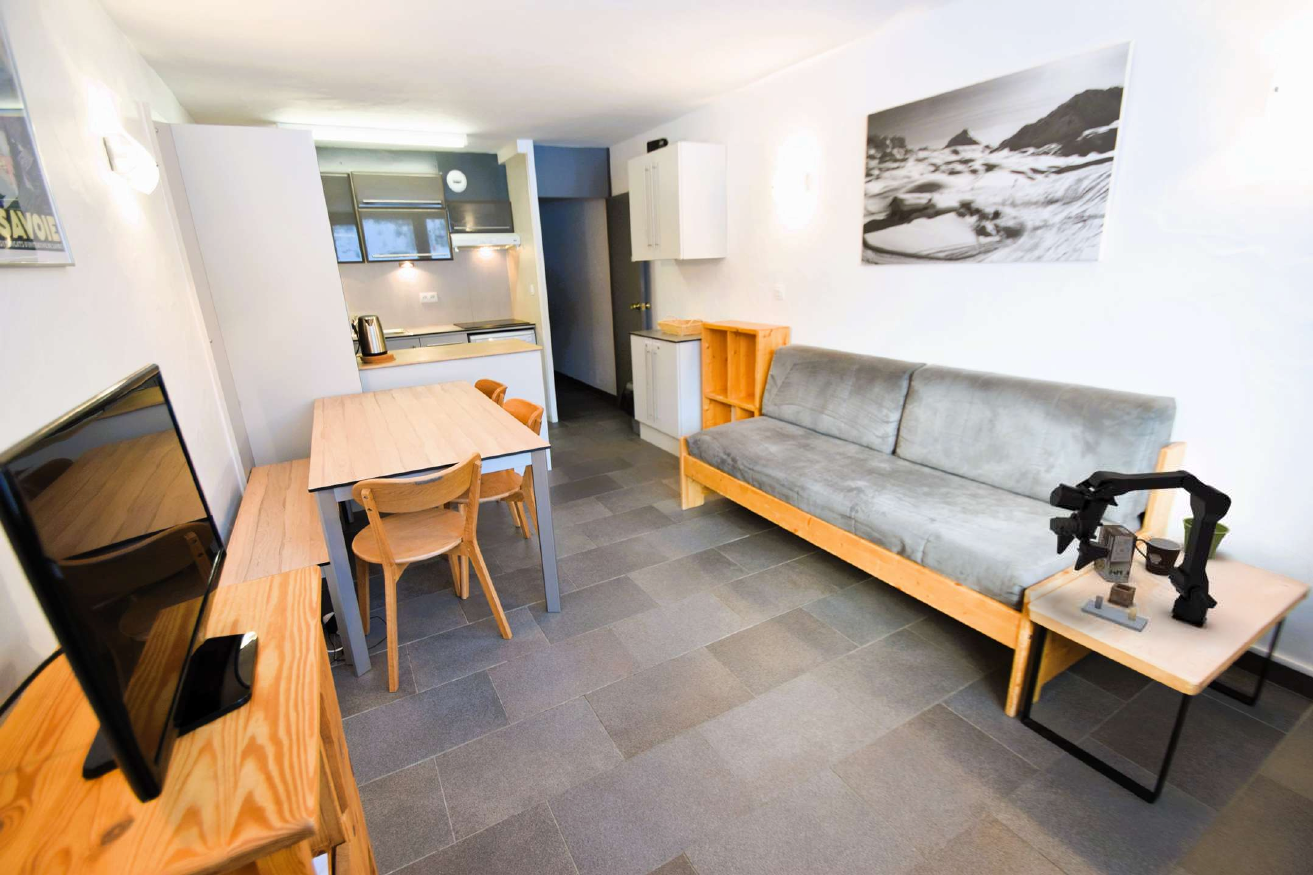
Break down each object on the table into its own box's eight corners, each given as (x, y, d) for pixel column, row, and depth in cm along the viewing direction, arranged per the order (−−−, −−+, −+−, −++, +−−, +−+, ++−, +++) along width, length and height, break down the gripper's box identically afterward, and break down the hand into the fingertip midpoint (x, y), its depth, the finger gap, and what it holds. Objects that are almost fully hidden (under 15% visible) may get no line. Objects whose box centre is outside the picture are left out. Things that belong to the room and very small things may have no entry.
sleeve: (1132, 602, 175) (1136, 587, 173) (1127, 608, 172) (1131, 593, 171) (1113, 595, 178) (1116, 581, 177) (1108, 601, 176) (1111, 587, 174)
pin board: (1147, 622, 165) (1150, 608, 164) (1140, 632, 161) (1143, 618, 160) (1089, 601, 176) (1091, 588, 175) (1081, 610, 172) (1083, 597, 171)
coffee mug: (1182, 577, 187) (1189, 549, 184) (1155, 578, 187) (1161, 550, 184) (1153, 559, 198) (1159, 533, 195) (1127, 560, 198) (1133, 533, 195)
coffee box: (1129, 583, 185) (1139, 537, 180) (1106, 581, 186) (1115, 535, 182) (1113, 568, 194) (1122, 524, 189) (1091, 567, 195) (1100, 523, 190)
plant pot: (1190, 562, 196) (1198, 531, 192) (1167, 546, 207) (1174, 516, 203) (1231, 564, 194) (1239, 533, 190) (1205, 547, 205) (1212, 518, 201)
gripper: (1043, 495, 174) (1023, 540, 179) (1079, 523, 156) (1056, 573, 161) (1081, 503, 173) (1060, 548, 178) (1121, 532, 156) (1097, 581, 161)
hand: (1067, 561), depth 170 cm, fingers open, 9 cm apart
